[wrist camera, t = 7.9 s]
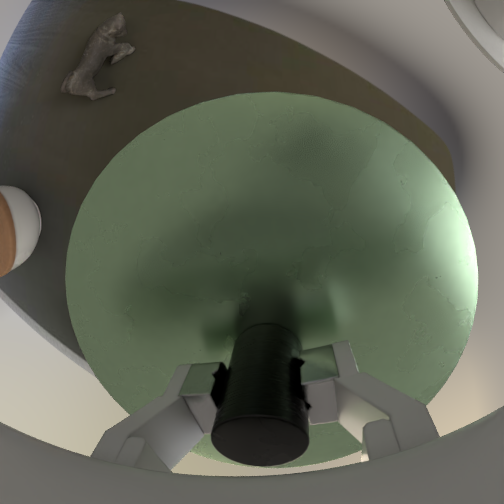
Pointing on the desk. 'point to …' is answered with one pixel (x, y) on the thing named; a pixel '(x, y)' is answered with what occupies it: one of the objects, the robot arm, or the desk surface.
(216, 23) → the desk surface
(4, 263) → the lidded bowl
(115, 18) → the dog figurine
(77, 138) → the desk surface
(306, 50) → the desk surface
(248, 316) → the tin lid
